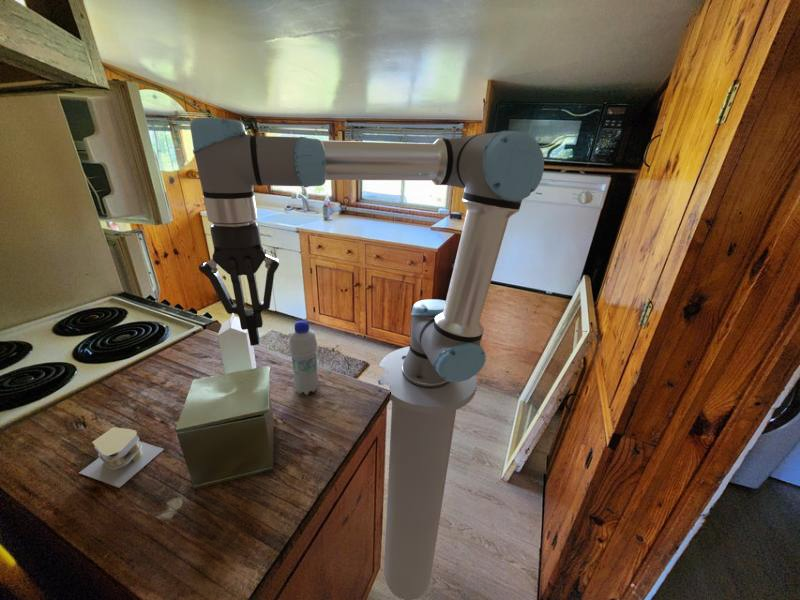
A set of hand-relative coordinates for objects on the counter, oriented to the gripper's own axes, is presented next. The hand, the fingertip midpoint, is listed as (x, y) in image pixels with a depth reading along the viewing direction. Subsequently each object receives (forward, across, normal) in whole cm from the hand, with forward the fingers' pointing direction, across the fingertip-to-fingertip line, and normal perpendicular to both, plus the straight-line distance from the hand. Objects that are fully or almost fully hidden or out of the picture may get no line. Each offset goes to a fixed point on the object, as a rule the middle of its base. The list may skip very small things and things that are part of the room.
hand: (255, 341), depth 65 cm
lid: (+8, +5, +5) cm, 11 cm away
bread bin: (+22, +6, +5) cm, 24 cm away
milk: (+22, +6, -14) cm, 27 cm away
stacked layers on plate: (+22, +27, +1) cm, 35 cm away
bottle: (+23, -9, -10) cm, 27 cm away
